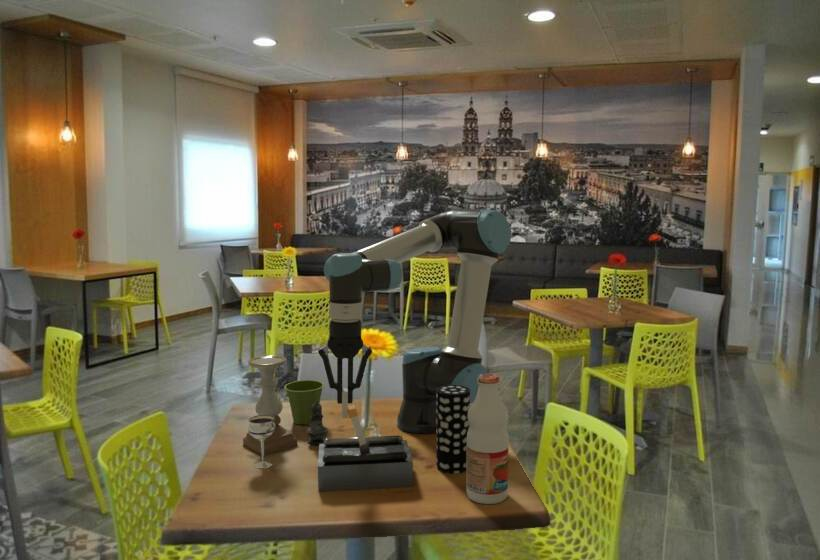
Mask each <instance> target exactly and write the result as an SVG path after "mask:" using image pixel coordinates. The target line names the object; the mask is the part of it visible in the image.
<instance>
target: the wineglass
mask: <svg viewBox="0 0 820 560" xmlns="http://www.w3.org/2000/svg"><path fill="white" fill-rule="evenodd" d="M274 420H275V417H274V416H271V415H258V414H256V415H253V416H250V417H249V418H248V419H247V421H248V427H247V430H248V432H249V433H250V435H251V436H253V437H254V438H255V439H259V441H261V451H262V455H261V460H259V461H256V462H255V463H253V465H252V467H253V468H256V469H259V468H261V470H263V469H268V468H270V466H271V467H272V466H273V465H274V463H273V461H270V460H265V457H264V456H265V455H264V441H265V440H266V439H267V438H269V437H270V436H271V435H272V434H273V433H274V431H275V422H274ZM262 468H263V469H262Z"/></svg>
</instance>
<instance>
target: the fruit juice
mask: <svg viewBox="0 0 820 560" xmlns="http://www.w3.org/2000/svg"><path fill="white" fill-rule="evenodd" d="M477 383H478V385H479V387H478V392H477V396H476V398H475V400H474V401H473V403H471V404H470V406H469V409H468V414H467V417H468V421H469V430H468V432H467V458H466V471H465V473H466V475H465V476H466V477H465V478H466V479H465V480H466V482H465V485H466V486H465V489H466V491H465V493H466V495H467V497H468V499H469V500H470V501H473V502H475V503H477V504H483V505H495V504H499V503H502V502H504V501H505V500H506V499H507V498H508V494H509V493H508V492H509V490H508V489H509V449H510V448H509V445H510V444H509V432H508V430H507V425H508V421H509V412H508V408H507V406H506V404H505V403H504V402H503V400H502V399H501V396H500V393H499V384H500V376H499V375H497V374H494V373H487V374H480V375H478V377H477Z"/></svg>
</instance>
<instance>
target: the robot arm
mask: <svg viewBox="0 0 820 560" xmlns="http://www.w3.org/2000/svg"><path fill="white" fill-rule="evenodd" d="M511 232H512V231H511V225H510V222H509V221H508V218H507V217H506V216H505V215H504V214H503V213H502V212H500V211H498V210H493V209H487V208H482V209H481V208H478V209H477V208H475V209H474V208H471V209H470V208H468V209H467V208H455V209H452V210H451V209H450V210H446V211H444V212H442V213H439V214H436V215H434V216H433V215H432V216H431V217H429V218H426V219H424V220H422V221H420V222H419V224H418V226H416V227H414V228H411V229H408V230H406V231H404V232H402V233H399V234H396V235H394V236H391V237H389V238H386V239H384V240H381V241H380V242H377V243H374V244H371V245H370V246H367V247H364V248H362V249H359V250H357V251H354V252H351V253H349V252H347V253H341V252H340V253H335V254H332V255H331V256H330V257H329V258H328V259H327V260H326V261H325V263H324V266H323V273H324V277H325V278H326V280H327V281H328V282H329V284H328V285H329V304H328V305H329V309H328V311H329V316H328V318H330V321H329V322H328V323H329V327H328V328H329V334H328V335H329V337H328V340H327V343H326V344H325V345H323V346H321V347H319V348H318V354H319V356H320V357H321V359H322V361H323V367H324V370H325V373H326V377H327V381H328V385H329V388H330V389H331V390H335V391H336V396H337V397H336V399H337V401H336V403H337V404H338V405H339V404H341V419H348V418H349V416H348V413H347V411H348V405H349V404H352V403H353V399H354V396H353V395H354V394H353V393H354V392H353V391H354V390H357V389H360V387H361V385H362V381H363V378H364V374H365V369H366V367H367V363H368V359H369V358H370V356H371V355H372V353H373V351H372V349H373V348H372V347H371V346H367V345H366V344H364V341H363V338H362V320H361V318H362V304H363V303H362V300H363V299H362V298H363V293H369V292H380V291H385V292H387V291H389V290H394V289H397V288H398V287H399V286H400V285H401V284H402V280H403V269H402V267H401V264H402V263H404V262H406V261H408V260H411V259H413V258H416V257H418V256H420V255H422V254H425V253H427V252H429V253H435V252H438V251H440V250H446V249H450V250H451V249H452V250H453V249H454V250H457V251H456V255H457V256H458V258H459V259H460V262H461V263H460V265H459V266H460V267H459V275H458V278H457V285H456V286H457V287H456V291H455V297H454V304H453V310H452V315H451V324H450V329H449V335H448V339H447V340H448V342H447V345H446V346H444V347H443V348H441V347H440V346H439V347H438V346H424V347H415V348H410V349H408V350H406V351H404V353H403V355H402V364H401V366H402V402H401V405H400V407H399V413H398V415H397V416H396V417H397V418H396V419H397V424H396V425H397V427H398V428H399V430H402V431H404V432H407V433H412V434H434V433H436V389H437V388H438V387H440V386H444V385H461V386H465V387H468V388H469V389H470V405H471V404H472V403H473V401H474V400H475V398H476V396H477V392H478V387H479V385H478V383H477V377H478V375H480V374H488V371H487V368H486V367H485V366H484V365H483V364H482V362H483V356H482V354H481V353H480V351H479V345H480V340H481V333H482V328H483V327H482V326H483V321H484V315H485V308H486V302H487V297H488V292H489V291H488V290H489V283H490V277H491V271H492V267H493V265H494V264H495V263H497V262H498V261H499V256H500V254H501V253H503V252H504V251H506V250H507V248H508V247H509V246H510V242H511V240H512V239H511V235H512V234H511ZM329 350H330V351H331V353H332V354H333V356H334V357H335V358H336V359H337V360H336V366H337V367H336V368H337V369H336V371H337V372H336V373H337V374H336V375H337V377H336V381H335V378H334V375H333V374H334V373H333V370H332V366H331V363H330V358H329V354H330V351H329ZM360 351H361V354H362V356H361V359H360V363H359V367H358V370H357V375H356V378H355V381H354V358H355V357H356V356H357V355H358V353H359V352H360ZM343 359H347V388H346V387H343Z"/></svg>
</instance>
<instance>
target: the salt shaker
mask: <svg viewBox="0 0 820 560" xmlns="http://www.w3.org/2000/svg"><path fill="white" fill-rule="evenodd" d="M322 409H323V408H322V404H321V403H320V404H319V403H317V400H316V403H315V404H313V405H312V406H311V412H312V415H311V416H310V418H311V423H312V424H310V426H309V427H308V428H307V429H306V433H307V436H308V438H309V440H308V441H307V445H309V444H310V445H309V446H312V445H314V447H319V444H324V440H325V439H326V438H325V437H326V436H327V433H328V430H329V429H328V427H326V426H324V424H323V418H324V415H323V411H322ZM315 445H316V446H315Z"/></svg>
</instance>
